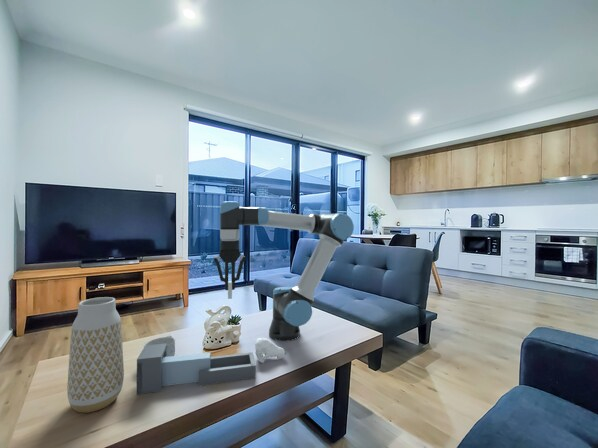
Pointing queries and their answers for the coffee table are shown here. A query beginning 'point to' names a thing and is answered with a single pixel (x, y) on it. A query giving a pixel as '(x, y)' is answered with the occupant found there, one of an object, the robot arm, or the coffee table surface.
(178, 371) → the blue-grey rectangular block
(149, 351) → the endcap
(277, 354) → the white irregular piece
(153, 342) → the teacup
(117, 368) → the vase
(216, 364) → the endcap
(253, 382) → the coffee table surface
